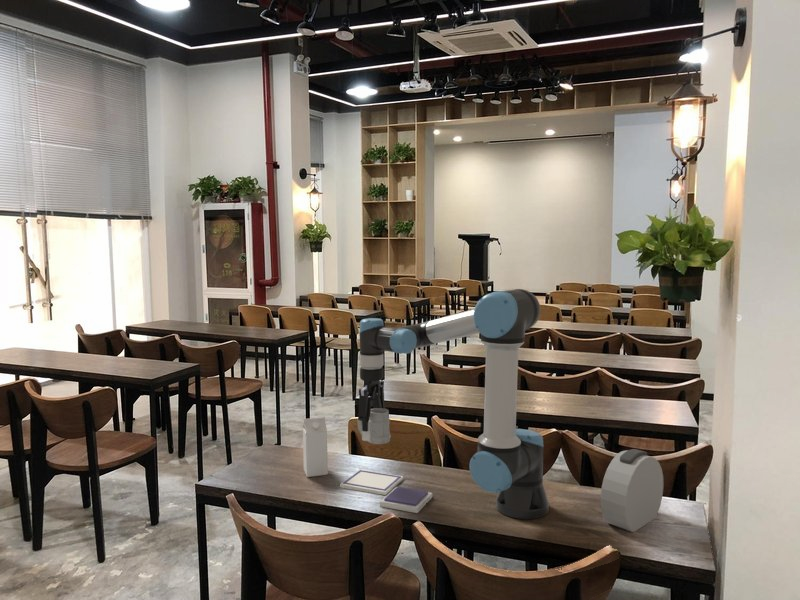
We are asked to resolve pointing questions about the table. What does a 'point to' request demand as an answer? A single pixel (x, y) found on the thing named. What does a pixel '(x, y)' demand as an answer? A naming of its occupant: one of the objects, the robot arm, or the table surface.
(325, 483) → the table surface
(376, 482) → the board
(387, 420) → the mug
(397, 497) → the ink pad
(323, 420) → the milk carton
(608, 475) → the alarm clock
